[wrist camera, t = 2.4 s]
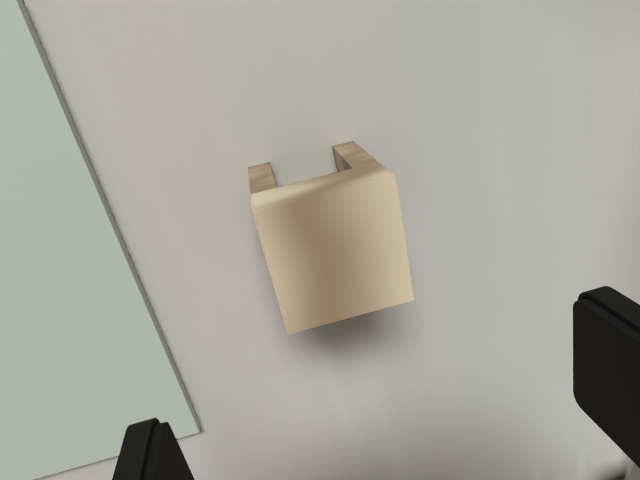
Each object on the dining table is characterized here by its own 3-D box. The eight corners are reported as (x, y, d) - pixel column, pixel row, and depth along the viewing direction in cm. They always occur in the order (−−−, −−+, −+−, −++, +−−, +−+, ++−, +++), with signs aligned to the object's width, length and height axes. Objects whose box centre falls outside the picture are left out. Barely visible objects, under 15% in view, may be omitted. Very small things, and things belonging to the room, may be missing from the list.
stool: (353, 141, 22) (395, 176, 16) (370, 237, 24) (414, 299, 18) (248, 167, 22) (252, 213, 16) (275, 262, 24) (287, 334, 18)
